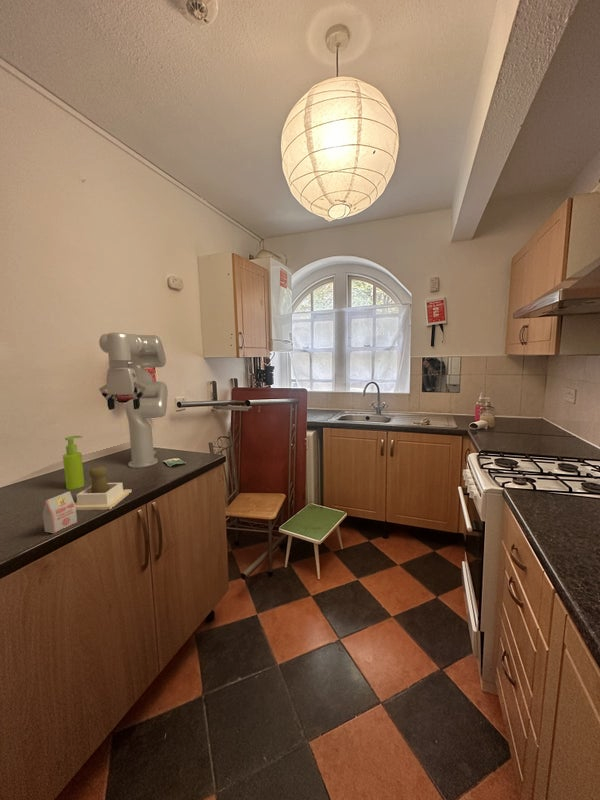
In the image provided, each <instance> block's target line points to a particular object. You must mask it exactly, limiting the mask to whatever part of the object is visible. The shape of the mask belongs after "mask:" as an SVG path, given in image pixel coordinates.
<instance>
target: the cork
mask: <svg viewBox="0 0 600 800" xmlns="http://www.w3.org/2000/svg"><path fill="white" fill-rule="evenodd" d="M107 474H108V470H107V467H105V466H96V467H93V468H91V469H90V471H89V477H90V478H91V485H92V486H91V485H90V486H91V493H106V492H107V491H109V487H108V483H109V482H108V480H107V477H106V476H107Z"/></svg>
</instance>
